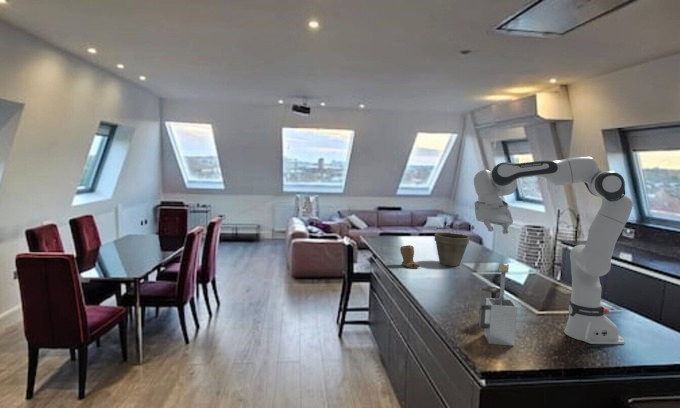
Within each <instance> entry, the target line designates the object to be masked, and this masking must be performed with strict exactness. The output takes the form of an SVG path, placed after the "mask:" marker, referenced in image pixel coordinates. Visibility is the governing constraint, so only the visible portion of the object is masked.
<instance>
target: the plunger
mask: <svg viewBox="0 0 680 408" xmlns="http://www.w3.org/2000/svg"><path fill="white" fill-rule="evenodd" d="M498 265H499V266H498V272H499V273H500V300H499V305H500V306H503V302H504V299H505V284H506V274H507V273H509V267H510V265H509V264H507V263H503V262H502V263H499V264H498Z"/></svg>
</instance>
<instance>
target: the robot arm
mask: <svg viewBox="0 0 680 408" xmlns="http://www.w3.org/2000/svg"><path fill="white" fill-rule="evenodd" d="M531 177H532V178H533V177H541V178H544V179H546V180H547V181H548V182H549V183H550V184H551V185H555V186H566V185H568V186H569V185H572V184H577V183H578V184H579V183H584V185H585V187H586V189H587V191H588V192H589V193H590V194H591V195H593V196H595V197H597V198H598V197H599V198H601V205H600V208H599V209H598V211H597V213H596V215H595V217H594V219H593V221H592V223H591V224H590V226H589V228H588V231H587V233H588V234H587V238H586V242H585V244H578V245H575V246H574V247H572V248H571V250H570V252H569V258H570V270H571V271H570V272H571V273H570V274H571V293H570V294H571V297H570V300H569V306H568V317H567V323H566V326H565V329H564V331H563V332H564V334H565V335H567V336H568V337H570V338H572V339H576V340H578V341H583V342H585V343H588V344H590V345H591V344H592V345H625V339H624V338H623V337H622V336H621V335H619V329H618V326H617V325H616V324H615V323H614V322H613V321H612V320H611V319H609V318H608V317H607V316H606V315H608V314H610V309H608V308H607V307H603V306H602V305H601V299H602V285H601V281H600V277H603V276H605V275H607V274H608V273H609V272H610V270H611V269H612V268H611V267H612V263H611V262H612V257H613V254H614V249H615V246H616V243H617V240H618V239H619V237H620V235H621V233H622V232H623V230H624V227H625V226H626V224H627V222H628V221H629V217H630V215H631V212H632V210H633V206H634V202H633V200H632V199H631V198H630V197H629V196H627V195H626V183H625V179H624V177H623V176H622V174H620V173H619V172H616V171H615V170H601V169H600V168H599V164H598V162H597V160H596V159H595V158H593V157H592V156H578V157H577V156H574V157H568V158H563V159H558V160H557V159H556V160H534V161H527V162H519V163H514V162H507V161H506V162H503V161H502V162H500V163H497V164H496V165H495V166H494V167H493V168H492V170H491V171H490V170H488V169H482V170H480V171H478V172H477V173H476V174H475V175H474V177H473V185H474V191H475V193H476V195H477V197H478V199H477V201H475V202H474V214H475V218H476V221H477V222H480V223H483V225H484V226H485V227H486V229H487V231H488V232H491V233H492V232H494V227H493V225H496V226H501V227H502V230H501V231H502V234H503V235H508V234H509V226H511V225H513V223H514V220H513V216H512V213H511V210H510V209H509V207H510V205H509V203H507V201H504V200H503V199H502V198H501V197H504V196H510V195H512V194H513V193H515V192H516V190H517V187H518V179H523V178H531ZM491 224H492V225H491ZM605 314H606V315H605Z"/></svg>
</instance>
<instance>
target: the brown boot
mask: <svg viewBox="0 0 680 408" xmlns="http://www.w3.org/2000/svg"><path fill="white" fill-rule="evenodd" d="M399 250H400V254H401V256H402V259H403V260H402V262H401V265H403V266H404V267H407V268H409V269H416V268H420V267H421V265H420V264H418V263H417V262H415V261H414V257H415V256H414V255H415V247H414V246H413V245H411V244H410V245H409V244H408V245H401V246H400V249H399Z"/></svg>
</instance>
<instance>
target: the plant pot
mask: <svg viewBox="0 0 680 408" xmlns="http://www.w3.org/2000/svg"><path fill="white" fill-rule="evenodd" d="M434 241H435V245H436V249H437V250H436V251H437V255H438V256H437V257H438V261H439V263H440V264H441V265H444V266H449V267H457V266H458V265H459V266H460V265H461V263H462V261H463V258H464V255H465V252H466V249H467V246H468V245H469V244H470V236H468V235H465V234H461V233H455V232H454V233H451V232H437V233H434ZM459 266H458V267H459Z"/></svg>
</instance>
